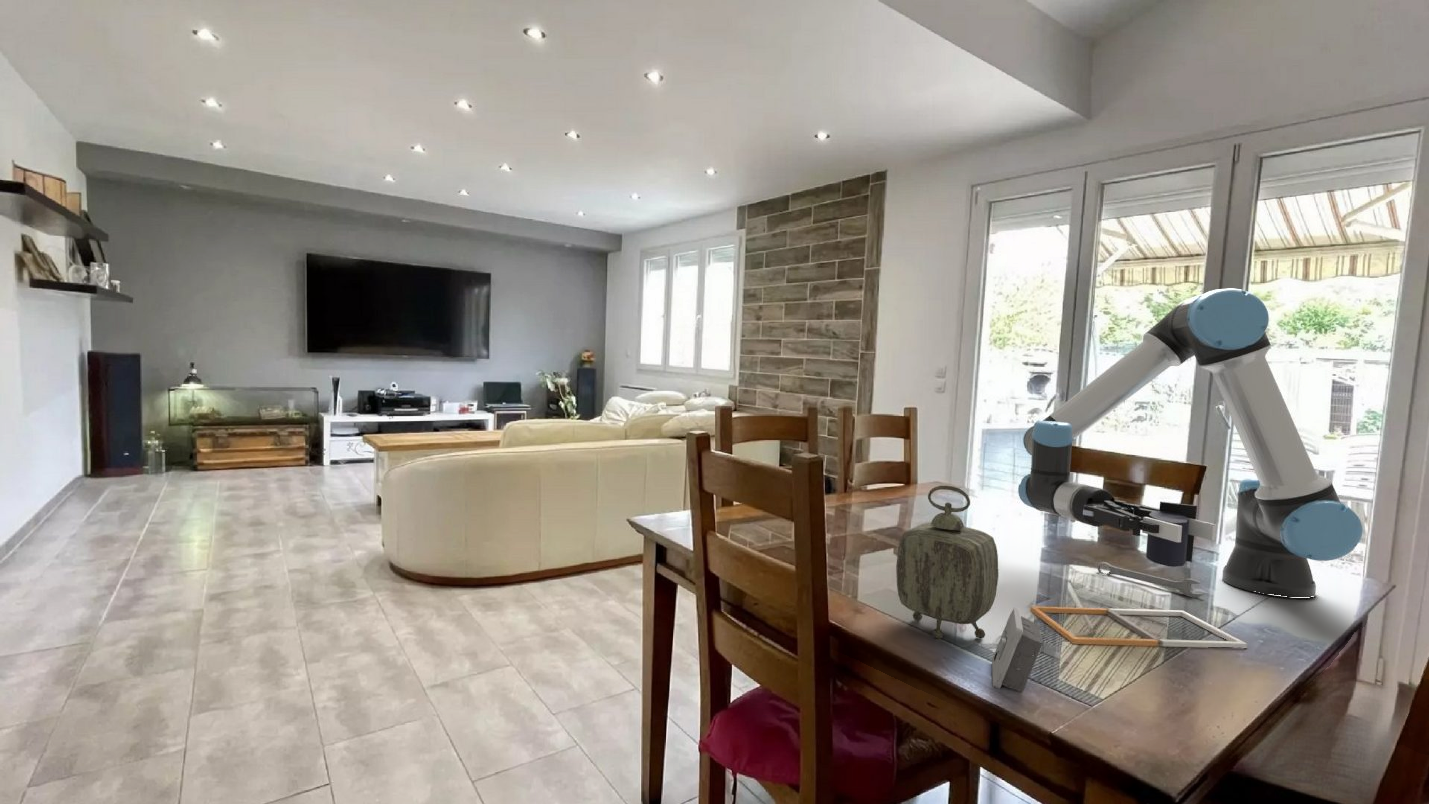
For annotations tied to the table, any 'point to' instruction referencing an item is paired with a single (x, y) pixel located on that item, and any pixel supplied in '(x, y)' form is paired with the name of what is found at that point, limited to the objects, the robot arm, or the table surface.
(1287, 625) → the table surface
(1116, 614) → the rectangular frame
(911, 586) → the tabletop clock
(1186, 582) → the combination wrench
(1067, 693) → the table surface
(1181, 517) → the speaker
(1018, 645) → the electrical switch
